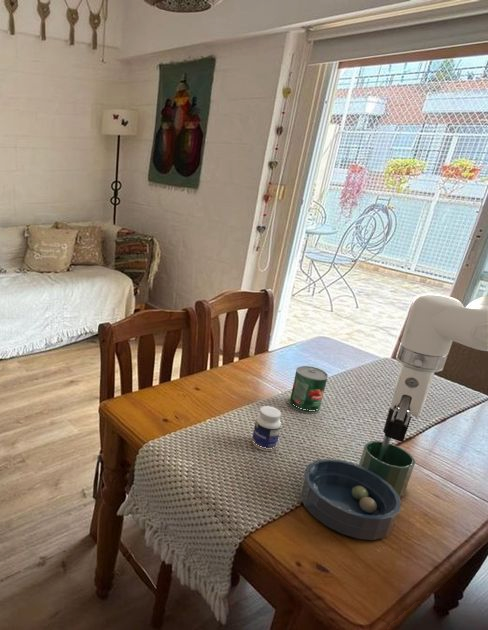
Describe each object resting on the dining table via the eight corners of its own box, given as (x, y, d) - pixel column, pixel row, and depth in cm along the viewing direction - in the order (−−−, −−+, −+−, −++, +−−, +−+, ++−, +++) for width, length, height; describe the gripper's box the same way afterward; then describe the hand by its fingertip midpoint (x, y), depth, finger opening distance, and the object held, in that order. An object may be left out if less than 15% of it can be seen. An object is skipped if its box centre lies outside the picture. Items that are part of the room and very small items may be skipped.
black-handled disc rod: (388, 478, 98) (408, 408, 92) (385, 488, 95) (405, 416, 89) (367, 470, 101) (385, 401, 94) (363, 479, 98) (382, 409, 92)
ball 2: (378, 513, 89) (380, 509, 86) (362, 515, 89) (363, 511, 87) (372, 497, 90) (373, 494, 88) (356, 499, 91) (357, 496, 89)
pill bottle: (246, 440, 112) (252, 407, 108) (264, 435, 114) (270, 402, 110) (263, 454, 107) (270, 419, 103) (281, 449, 109) (288, 415, 105)
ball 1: (362, 481, 93) (351, 488, 94) (357, 485, 91) (345, 491, 93) (374, 494, 91) (362, 501, 93) (368, 498, 89) (356, 505, 91)
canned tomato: (317, 417, 122) (326, 382, 118) (287, 408, 126) (294, 374, 122) (321, 404, 128) (329, 370, 124) (291, 395, 132) (298, 363, 128)
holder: (407, 482, 98) (417, 453, 95) (400, 504, 92) (411, 474, 89) (360, 463, 104) (369, 435, 101) (351, 483, 98) (360, 454, 95)
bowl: (398, 507, 91) (406, 484, 89) (384, 558, 80) (393, 534, 78) (312, 470, 102) (317, 448, 100) (288, 510, 90) (293, 487, 88)
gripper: (441, 378, 78) (411, 461, 85) (448, 349, 90) (422, 424, 96) (390, 364, 83) (366, 444, 90) (404, 338, 95) (381, 411, 101)
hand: (395, 433), depth 93 cm, fingers open, 3 cm apart
